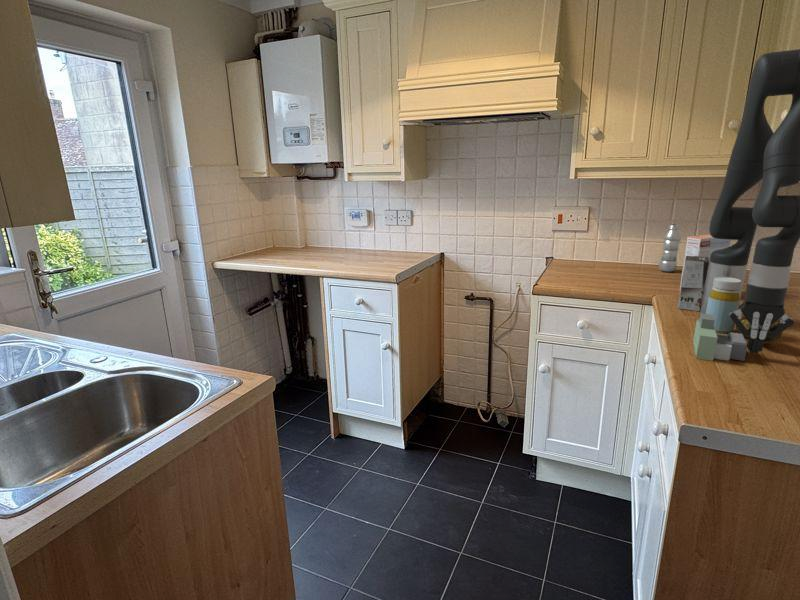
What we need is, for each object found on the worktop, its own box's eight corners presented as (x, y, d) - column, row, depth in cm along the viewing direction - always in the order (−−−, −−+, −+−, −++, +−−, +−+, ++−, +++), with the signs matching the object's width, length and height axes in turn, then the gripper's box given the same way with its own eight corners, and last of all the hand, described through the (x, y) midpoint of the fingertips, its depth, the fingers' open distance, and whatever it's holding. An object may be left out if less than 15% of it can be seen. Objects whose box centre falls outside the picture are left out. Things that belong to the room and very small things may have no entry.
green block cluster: (693, 340, 126) (698, 310, 124) (723, 345, 123) (730, 314, 120) (695, 358, 115) (701, 325, 113) (729, 363, 112) (736, 330, 109)
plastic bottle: (654, 270, 204) (661, 224, 199) (667, 269, 206) (674, 223, 201) (666, 273, 198) (674, 226, 193) (679, 272, 200) (687, 225, 195)
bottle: (705, 325, 137) (714, 275, 133) (733, 330, 133) (744, 278, 129) (701, 331, 132) (710, 280, 128) (731, 337, 128) (742, 284, 124)
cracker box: (706, 289, 174) (717, 233, 168) (721, 294, 168) (733, 235, 162) (677, 293, 170) (686, 235, 164) (691, 297, 164) (702, 238, 158)
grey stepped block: (709, 345, 122) (712, 329, 121) (739, 349, 119) (743, 333, 118) (712, 356, 115) (715, 339, 114) (744, 360, 113) (747, 344, 111)
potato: (769, 337, 128) (775, 309, 126) (781, 354, 117) (788, 324, 115) (732, 332, 131) (738, 305, 129) (740, 349, 120) (747, 319, 118)
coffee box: (700, 311, 150) (709, 261, 145) (677, 308, 153) (685, 259, 148) (700, 304, 157) (709, 256, 152) (678, 301, 160) (686, 254, 156)
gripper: (799, 281, 110) (783, 350, 115) (731, 276, 116) (719, 342, 121) (808, 289, 104) (791, 362, 109) (735, 283, 110) (723, 353, 114)
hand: (753, 351), depth 115 cm, fingers closed
